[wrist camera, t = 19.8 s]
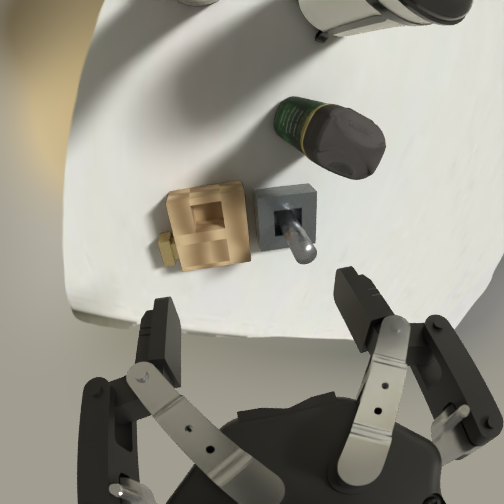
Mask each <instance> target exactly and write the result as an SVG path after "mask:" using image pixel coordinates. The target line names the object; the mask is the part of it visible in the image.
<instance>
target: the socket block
mask: <svg viewBox="0 0 504 504" xmlns="http://www.w3.org/2000/svg"><path fill="white" fill-rule="evenodd" d="M166 206H167V210H168V215H169V219H170V223H171V227H172V231H173V235H174V239H175V243H176V247H177V251H178V255H179V259H180V262H181V266H182V270H183V272H184V271H191V270H197V269H204V268H211V267H217V266H223V265H230V264H236V263H243V262H249V261H251V255H250V245H249V235H248V225H247V216H246V206H245V196H244V190H243V187H242V184H241V181H233V182H226V183H219V184H212V185H206V186H200V187H194V188H188V189H182V190H176V191H170V192H169V194H168V198H167V201H166Z"/></svg>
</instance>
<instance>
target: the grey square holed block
mask: <svg viewBox="0 0 504 504" xmlns="http://www.w3.org/2000/svg"><path fill="white" fill-rule="evenodd" d="M253 196H254V208H255V219H256V231H257V241H258V244H259V247H260V250H261V251H268V250H274V249H281V248H287V247H289V245H288V243H287V241H286V239H285V237H284V235H283V233H282V231H281V229H280V227H279V225H278V223H277V221H276V219H275V212H276V211H280V210H287V209H291V211H292V212H293V214H294V215H295V217H296V218H297V220H298V221H299V223H300V225H301V226H302V228H303V229H304V231H305V232H306V234H307V236H308V237H309V239H310V240H311V242H312V243H315V240H316V209H317V191H316V190H315V189H314V188H313V187H312V186H311V185H310V184H299V185H290V186H281V187H272V188H264V189H256V190H253Z"/></svg>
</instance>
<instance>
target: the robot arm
mask: <svg viewBox="0 0 504 504" xmlns="http://www.w3.org/2000/svg"><path fill="white" fill-rule="evenodd" d="M178 1H179V2H181V3H183V4H186V5H190V6H204V5H209V4H212V3H214V2H216V1H218V0H178ZM334 300H335V303H336V305H337V307H338V309H339V311H340V313H341V315H342V317H343V319H344V321H345V323H346V325H347V327H348V329H349V331H350V333H351V335H352V337H353V339H354V341H355V343H356V344H357V347H358V349H359V351H360V352H361V353H363V352H366V351H368V352H369V354H370V357H369V360H368V363H367V367H366V370H365V373H364V377H363V380H362V383H361V386H360V389H359V391H358V394H357V396H356V399H355V400H354V399H351V398H346V397H336V396H335V393H334V392H329V393H326V394H322V395H318V396H314V397H311V398H309V399H307V400H305V401H303V402H301V403H299V404H297V405H295V406H292V407H290V408H286V409H281V408H258V409H252V410H246V411H239V412H237V415H238V418H236V419H234V420H232V421H230V422H228V423H226V424H225V425H224V426H222V427H221V428H220V429H218V428H217V427H215V426H214V425H213V424H212V423H211V422H210V421H209V420H208V419H207V418H206V417H205V416H204V415H203V414H202V413H201V412H200V411H199V410H197V409H196V408H195V407H194V406H193V405H192V404H191V403H190V402H189V401H188V400H187V399H186V398H185V397H184V396H183V395H180V394H179V393H178V392H177V391H176V390H175V388H178V387H181V325H180V320H179V317H178V314H177V312H176V309H175V306H174V303H173V301H172V298H171V297H164V298H157V299H155V301H154V308H153V310H149V311H146V313H145V314H144V316H143V317H142V319H141V325H140V331H139V338H138V345H137V353H136V360H135V364H134V365H133V366H132V367H131V368H130V369H129V370H128V372H127V375H126V376H124V377H122V378H119V379H117V380H113V381H111V382H108V381H107V380H106V379H105V378H102V377H96V378H93V379H91V380H90V381H88V383H87V384H86V385H85V387H84V390H83V397H82V405H81V414H80V425H79V438H78V461H77V493H78V504H157V503H156V502H155V499H154V496H153V494H152V491H151V490H150V489H149V488H148V487H147V486H145V485H144V484H141V483H140V481H139V468H138V453H137V424H136V422H137V420H139V419H142V418H144V417H147V416H150V415H152V416H153V417H154V419H155V420H156V421H157V422H158V424H159V425H160V426H161V427H162V428H163V430H164V431H165V432H166V433H167V434H168V435H169V436H170V438H171V439H172V440H173V441H174V442H175V443H176V444H177V445H178V446H179V447H180V448H181V450H182V451H183V452H184V453H185V454H186V455H187V456H188V457H189V458H190V459H191V460H192V461H193V462H194V463H195V464H194V465H193V467H192V468H191V470H190V471H189V472H188V474H187V475H186V477H185V478H184V479H183V481H182V482H181V483H180V485H179V486H178V488H177V489H176V490H175V492H174V493H173V494H172V496H171V497H170V498H169V500H168V501H167V503H166V504H446V503H445V501H444V500H443V498H442V495H441V489H440V475H441V467H442V466H444V465H446V464H448V463H449V462H451V461H453V460H460V459H463V458H464V457H466V456H468V455H469V454H471V453H473V452H474V451H476V450H477V449H479V448H480V447H482V446H483V445H485V444H486V443H488V442H489V441H491V440H492V439H494V438H495V437H496V436H498V435H499V434H500V432H501V430H502V428H503V418H502V415H501V413H500V411H499V409H498V407H497V405H496V403H495V401H494V399H493V397H492V395H491V393H490V391H489V389H488V387H487V385H486V383H485V381H484V380H483V378H482V376H481V374H480V372H479V370H478V369H477V367H476V365H475V364H474V362H473V360H472V358H471V357H470V355H469V353H468V352H467V350H466V348H465V347H464V345H463V344H462V342H461V340H460V339H459V337H458V335H457V334H456V332H455V331H454V329H453V328H452V326H451V325H450V323H449V322H448V320H447V319H446V318H444V317H442V316H440V315H431V316H429V317H428V318H427V319H426V321H425V323H408V321H407V320H406V319H405V318H403V317H401V316H398V315H394V313H393V312H392V310H391V309H390V307H389V306H388V304H387V303H386V301H385V300H384V298H383V297H382V295H381V294H380V292H379V291H378V289H376V287H375V285H374V284H373V282H372V281H371V280H370V279H369V278H367V277H366V276H364V275H363V274H362V275H358V274H357V272H356V271H355V269H354V268H353V267H352V266H350V267H345V268H339V269H337V270H336V276H335V284H334ZM407 366H410V367H411V369H412V371H413V373H414V375H415V378H416V380H417V382H418V384H419V386H420V388H421V391H422V393H423V395H424V397H425V399H426V402H427V404H428V406H429V408H430V411H431V413H432V415H433V418H434V421H433V423H432V426H431V433H432V434H431V437H432V442H431V441H430V440H428V439H426V438H425V437H422V436H421V435H419V434H417V433H415V432H413V431H411V430H409V429H407V428H406V427H404V426H402V425H400V424H398V423H396V422H395V420H396V416H397V412H398V409H399V405H400V400H401V396H402V392H403V387H404V382H405V377H406V372H407Z"/></svg>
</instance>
